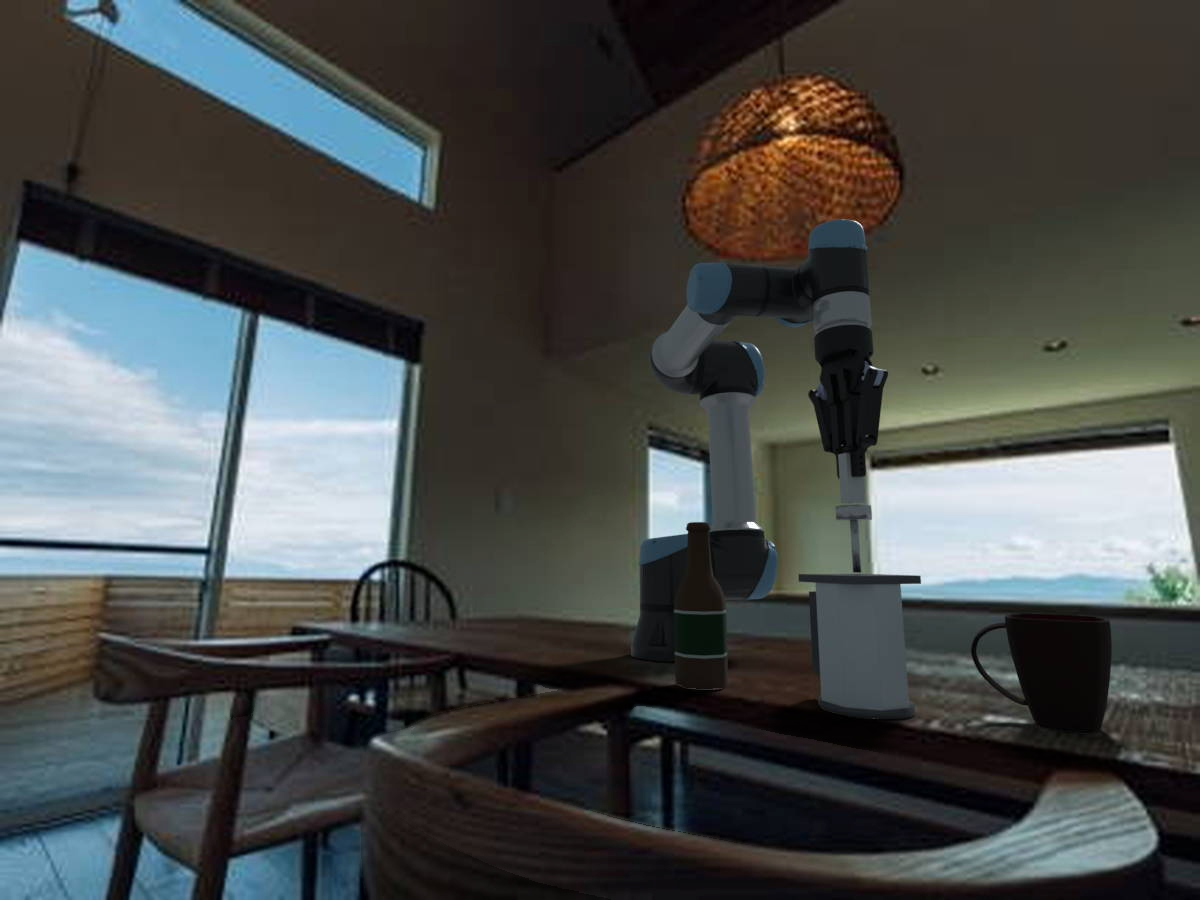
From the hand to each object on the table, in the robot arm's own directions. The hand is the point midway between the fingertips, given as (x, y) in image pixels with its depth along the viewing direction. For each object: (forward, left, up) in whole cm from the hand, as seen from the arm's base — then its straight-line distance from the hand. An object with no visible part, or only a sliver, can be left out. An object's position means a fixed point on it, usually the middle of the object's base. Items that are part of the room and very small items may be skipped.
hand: (853, 502), depth 85 cm
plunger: (0, 0, -9) cm, 9 cm away
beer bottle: (-20, -12, -26) cm, 35 cm away
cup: (+13, +14, -26) cm, 32 cm away
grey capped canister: (-2, 0, -26) cm, 26 cm away
